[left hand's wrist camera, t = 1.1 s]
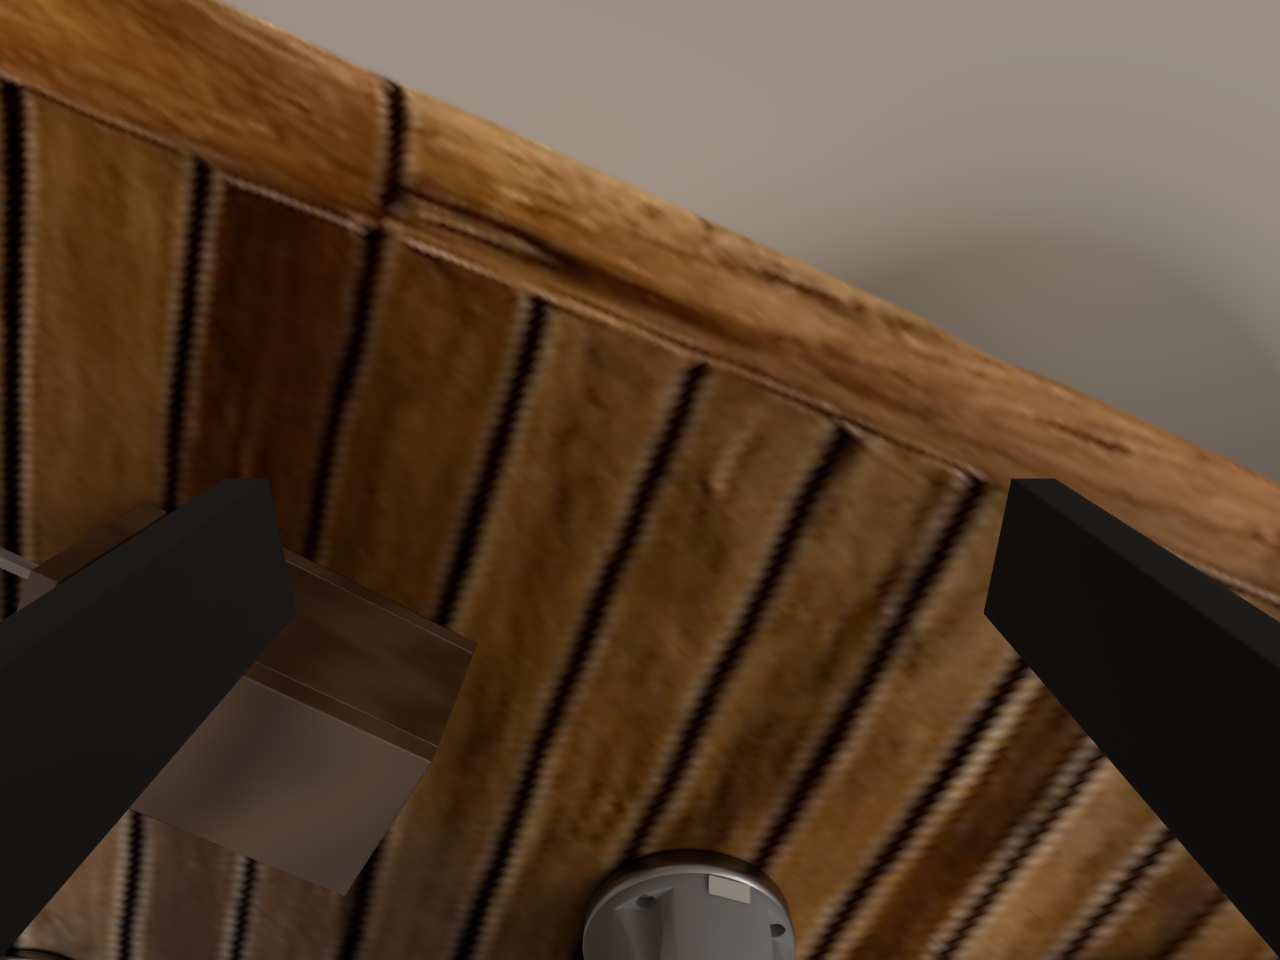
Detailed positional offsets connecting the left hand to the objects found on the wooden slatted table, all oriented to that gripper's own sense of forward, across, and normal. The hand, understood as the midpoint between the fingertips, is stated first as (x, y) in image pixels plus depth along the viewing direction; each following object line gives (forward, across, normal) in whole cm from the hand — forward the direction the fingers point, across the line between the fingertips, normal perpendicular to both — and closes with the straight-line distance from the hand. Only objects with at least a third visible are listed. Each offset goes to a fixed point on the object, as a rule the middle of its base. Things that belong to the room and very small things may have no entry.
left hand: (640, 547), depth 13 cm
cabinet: (+25, +20, +19) cm, 37 cm away
